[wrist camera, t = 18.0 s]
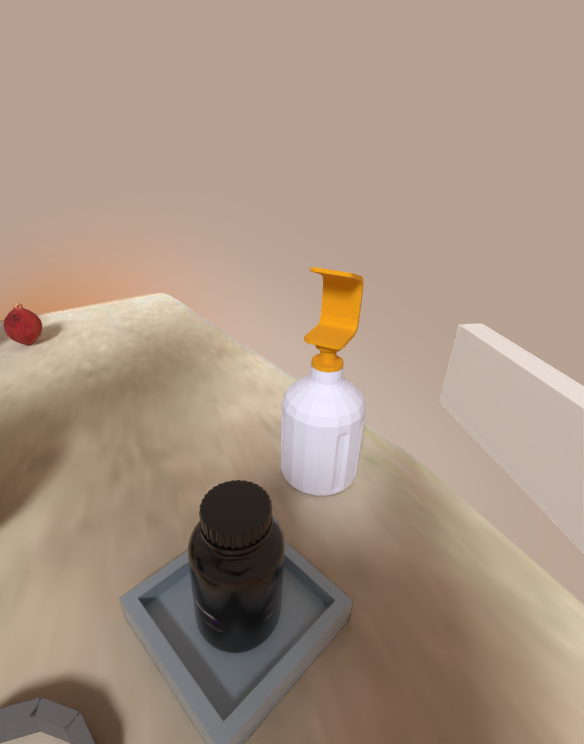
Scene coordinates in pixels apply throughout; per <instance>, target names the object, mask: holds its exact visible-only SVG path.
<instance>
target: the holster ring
mask: <svg viewBox="0 0 584 744" xmlns="http://www.w3.org/2000/svg"><path fill="white" fill-rule="evenodd" d="M40 731H41V732H44V733H47V734H49V735H52V736H54V737H57V738H59V739H62V740H65V741H67V742H70V743H71V744H95V743H94V740H93V738H92V736H91V734H90V732H89V730H88V727H87V725H86V723H85V721H84V719H83V717H82V714H81V713H80V712H79V711H77V710H74V709H72V708H69V707H66V706H63V705H61V704H58V703H55V702H53V701H50V700H47V699H44V698H41V699H40V698H36V699H33V700H29V701H25V702H22V703H18V704H14V705H11V706H7V707H3V708H0V743H2V742H5V741H9V740H12V739H16V738H19V737H22V736H26V735H29V734H33V733H36V732H40Z"/></svg>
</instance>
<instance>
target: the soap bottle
mask: <svg viewBox="0 0 584 744" xmlns="http://www.w3.org/2000/svg"><path fill="white" fill-rule="evenodd" d="M310 271H311V272H315V273H318V274H321V275H322V276H323V296H322V309H321V318H320V321H319V324H318V325H317V326H316V327H315V328H314V329H312V330H311V331H310V332H309V333H308V334H306V335H305V336H304V340H305V342H306V343H309V344H314V345H315V346H316V348H317V349H319V350H320V354H318V355H315V356H314V357H313V358H312V364H311V375H307V376H305V377H303V378H301V379H299V380H297V381H295V382H294V383H292V384H291V385H290V386H289V387H288V389H287V391H286V393H285V395H284V398H283V403H282V434H281V470H282V473H283V477H284V478H285V479H286V481H287V482H288V483H289V484H290V485H291V486H292V487H294V488H295V489H297V490H299V491H301V492H303V493H306V494H311V495H315V496H329V495H333V494H336V493H339V492H342V491H344V490H345V489H346V488H347V487H349V486H350V485H351V484H352V482H353V480H354V478H355V476H356V473H357V466H358V459H359V452H360V445H361V439H362V432H363V425H364V418H365V412H366V409H365V401H364V398H363V395H362V393H361V392H360V391H359V389H358V388H357V387H356V386H355V385H353V384H352V383H351V382H349V381H348V380H346V379H345V378H342V372H343V359H342V358H340V357H339V356H336V352H337V351H339V350H341V349H343V348H344V347H345V346H346V345H347V344H348V342H349V341H350V340H351V339H352V338H353V337H354V336H355V334H356V332H357V329H358V324H359V317H360V309H361V301H362V292H363V278H362V276H359V275H356V274H353V273H347V272H340V271H334V270H327V269H321V268H315V267H311V269H310Z"/></svg>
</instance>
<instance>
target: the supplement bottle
mask: <svg viewBox="0 0 584 744" xmlns="http://www.w3.org/2000/svg"><path fill="white" fill-rule="evenodd" d="M199 516H200V521H199V522H198V523H197V525H196V526H195V528H194V530H193V532H192V534H191V536H190V539H189V544H188V561H189V569H190V577H191V586H192V594H193V602H194V611H195V617H196V622H197V626H198V629H199V631H200V633H201V635H202V636H203V638H204V639H205V640H206V641H207V642H208V643H209V644H210V645H211V646H213V647H214V648H216V649H218V650H221V651H224V652H228V653H241V652H246V651H249V650H252V649H254V648H256V647H258V646H259V645H261V644H262V643H263V642H264V641H265V640H267V639H268V637H269V636H270V635H271V634H272V632H273V631H274V629H275V627H276V625H277V623H278V620H279V617H280V612H281V602H282V586H283V569H284V552H285V542H284V535H283V531H282V529H281V526H280V525H279V523H278V522H277V520H276V519H275V518H274V517H273V516H272V506H271V500H270V499H269V495H267V493H266V491H265V490H263V488H262V487H259V486H258V485H257V484H254V483H252V482H247V481H241V480H237V481H233V480H232V481H229V482H224V483H222V484H219V485H218V486H215V487H213V489H211V490H209V492H208V493H207V494H206V495H205V496H204V499H202V503H201V505H200V511H199Z"/></svg>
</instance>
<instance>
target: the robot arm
mask: <svg viewBox="0 0 584 744" xmlns="http://www.w3.org/2000/svg"><path fill="white" fill-rule="evenodd" d="M440 404H441V405H442V406H443V407H444V408H445V409H446V410H447V411H448V412H449V413H450V414H451V415H452V416H453V417H454V418H455V419H456V420H457V421H458V422H459V423H460V424H461V426H462V427H463V428H464V429H465V430H466V431H467V432H468V433H469V434H470V435H471V436H472V437H473V438H474V439H475V440H476V441H477V442H478V443H479V445H480V446H481V447H482V448H483V449H484V450H485V451H486V452H487V453H488V454H489V455H490V456H491V457H492V458H493V459H494V460H495V461H496V462H497V463H498V464H499V466H500V467H501V468H502V469H503V470H504V471H505V472H506V473H507V474H508V475H509V476H510V477H511V478H512V479H513V480H514V481H515V482H516V483H517V484H518V485H519V486H520V488H521V489H523V491H524V492H525V493H526V494H527V495H528V496H529V497H530V498H531V499H532V500H533V501H534V502H535V503H536V504H537V505H538V506H539V508H541V510H542V511H543V512H544V513H545V514H546V515H547V516H548V517H549V518H550V519H551V520H552V521H553V522H554V523H555V524H556V525H557V526H558V527H559V528H560V530H561V531H562V532H563V533H564V534H565V535H566V536H567V537H568V538H569V539H570V540H571V541H572V542H573V543H574V544H575V545H576V546H577V547H578V548H579V550H580V551H581V552H582V553H583V554H584V386H582V385H581V384H579V383H578V382H576V381H574V380H573V379H571V378H569V377H568V376H566V375H565V374H563V373H561V372H560V371H558V370H556V369H555V368H553V367H552V366H550V365H548V364H547V363H545V362H543V361H542V360H540V359H539V358H537V357H535V356H534V355H532V354H530V353H529V352H527V351H525V350H524V349H522V348H521V347H519V346H517V345H516V344H514V343H513V342H511V341H509V340H508V339H506V338H504V337H502V336H501V335H500V334H498V333H496V332H495V331H493V330H492V329H490V328H488V327H487V326H485V325H483V324H482V323H480V324H459V326H458V330H457V334H456V338H455V342H454V346H453V350H452V354H451V358H450V362H449V366H448V370H447V374H446V378H445V382H444V386H443V390H442V394H441V398H440Z"/></svg>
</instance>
